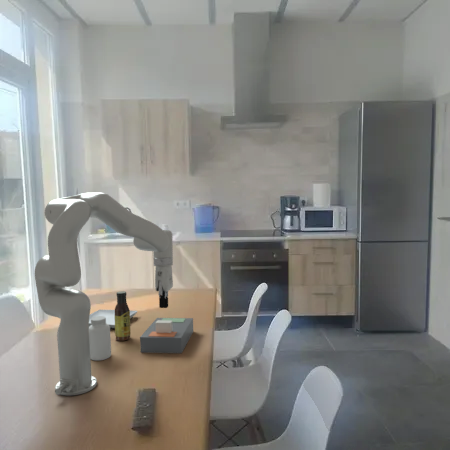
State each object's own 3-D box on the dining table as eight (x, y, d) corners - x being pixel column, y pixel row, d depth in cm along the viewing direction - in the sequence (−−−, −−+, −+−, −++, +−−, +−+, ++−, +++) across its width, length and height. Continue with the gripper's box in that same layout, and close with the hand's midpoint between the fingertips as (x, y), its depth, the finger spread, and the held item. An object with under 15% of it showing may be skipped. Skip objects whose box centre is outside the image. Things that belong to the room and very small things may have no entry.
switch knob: (170, 332, 168) (170, 322, 167) (155, 332, 168) (155, 322, 168) (172, 330, 171) (172, 320, 170) (157, 330, 171) (157, 320, 171)
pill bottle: (89, 362, 157) (86, 322, 155) (89, 354, 165) (87, 316, 163) (111, 359, 159) (109, 320, 158) (111, 351, 167) (109, 313, 165)
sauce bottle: (126, 342, 177) (124, 294, 175) (112, 341, 178) (110, 294, 176) (133, 336, 183) (131, 290, 181) (119, 335, 184) (117, 290, 182)
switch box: (181, 353, 163) (180, 337, 163) (140, 352, 165) (139, 336, 165) (193, 331, 187) (192, 317, 186) (157, 331, 189) (157, 317, 188)
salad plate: (75, 329, 195) (74, 321, 195) (99, 315, 216) (99, 308, 215) (117, 332, 190) (117, 324, 190) (138, 317, 211) (138, 310, 210)
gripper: (167, 264, 161) (168, 312, 163) (176, 258, 176) (177, 303, 177) (148, 264, 162) (149, 312, 164) (158, 258, 177) (159, 302, 178)
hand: (163, 307), depth 171 cm, fingers closed
